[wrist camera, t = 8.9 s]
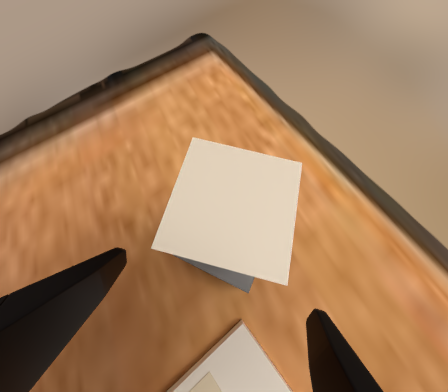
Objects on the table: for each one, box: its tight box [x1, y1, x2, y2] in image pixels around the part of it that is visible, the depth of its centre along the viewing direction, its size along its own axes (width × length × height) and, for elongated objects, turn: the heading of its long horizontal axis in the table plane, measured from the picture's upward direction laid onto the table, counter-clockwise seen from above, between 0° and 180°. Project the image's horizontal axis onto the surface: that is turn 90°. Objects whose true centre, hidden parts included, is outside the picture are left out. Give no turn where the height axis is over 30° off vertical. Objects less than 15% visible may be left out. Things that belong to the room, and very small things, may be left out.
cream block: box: [151, 137, 302, 286], centre depth 12 cm, size 4×4×12 cm
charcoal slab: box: [172, 254, 254, 293], centre depth 20 cm, size 8×8×4 cm
